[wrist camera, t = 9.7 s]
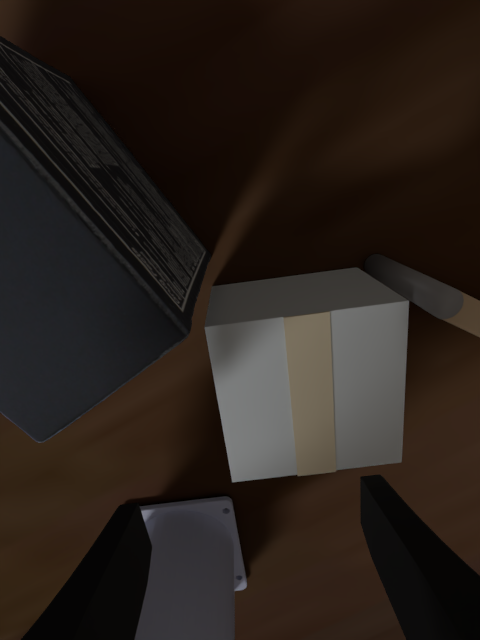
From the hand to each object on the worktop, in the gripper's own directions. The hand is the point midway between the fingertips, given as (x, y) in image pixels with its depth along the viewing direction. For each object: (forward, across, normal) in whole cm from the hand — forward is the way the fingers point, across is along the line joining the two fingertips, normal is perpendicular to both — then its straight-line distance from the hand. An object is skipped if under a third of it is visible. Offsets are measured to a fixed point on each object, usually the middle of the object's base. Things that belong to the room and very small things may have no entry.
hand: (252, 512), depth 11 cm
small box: (+11, +6, -9) cm, 15 cm away
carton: (+10, -3, -1) cm, 11 cm away
